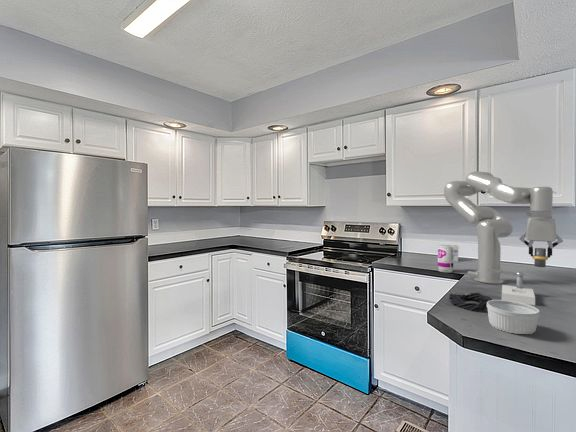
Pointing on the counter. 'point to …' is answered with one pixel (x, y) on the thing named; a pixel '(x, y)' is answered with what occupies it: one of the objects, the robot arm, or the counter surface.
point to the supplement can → (445, 258)
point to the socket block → (518, 293)
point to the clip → (505, 272)
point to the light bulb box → (455, 252)
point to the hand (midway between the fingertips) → (540, 256)
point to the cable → (473, 296)
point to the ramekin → (513, 316)
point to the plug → (540, 257)
